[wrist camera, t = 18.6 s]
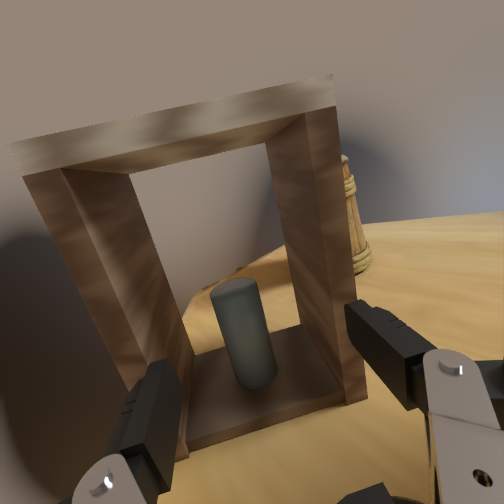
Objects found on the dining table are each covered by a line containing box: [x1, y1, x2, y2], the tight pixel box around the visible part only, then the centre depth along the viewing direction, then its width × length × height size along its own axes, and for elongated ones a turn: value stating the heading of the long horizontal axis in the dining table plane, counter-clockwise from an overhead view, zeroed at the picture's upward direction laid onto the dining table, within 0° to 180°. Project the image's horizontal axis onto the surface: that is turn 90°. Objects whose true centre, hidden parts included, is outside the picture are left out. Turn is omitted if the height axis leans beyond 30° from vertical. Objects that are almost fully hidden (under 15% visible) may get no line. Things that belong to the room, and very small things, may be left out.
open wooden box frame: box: [6, 74, 368, 462], centre depth 28 cm, size 22×14×30 cm, turn 99°
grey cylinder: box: [210, 278, 277, 389], centre depth 30 cm, size 6×6×12 cm
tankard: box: [341, 155, 372, 275], centre depth 55 cm, size 18×24×25 cm
